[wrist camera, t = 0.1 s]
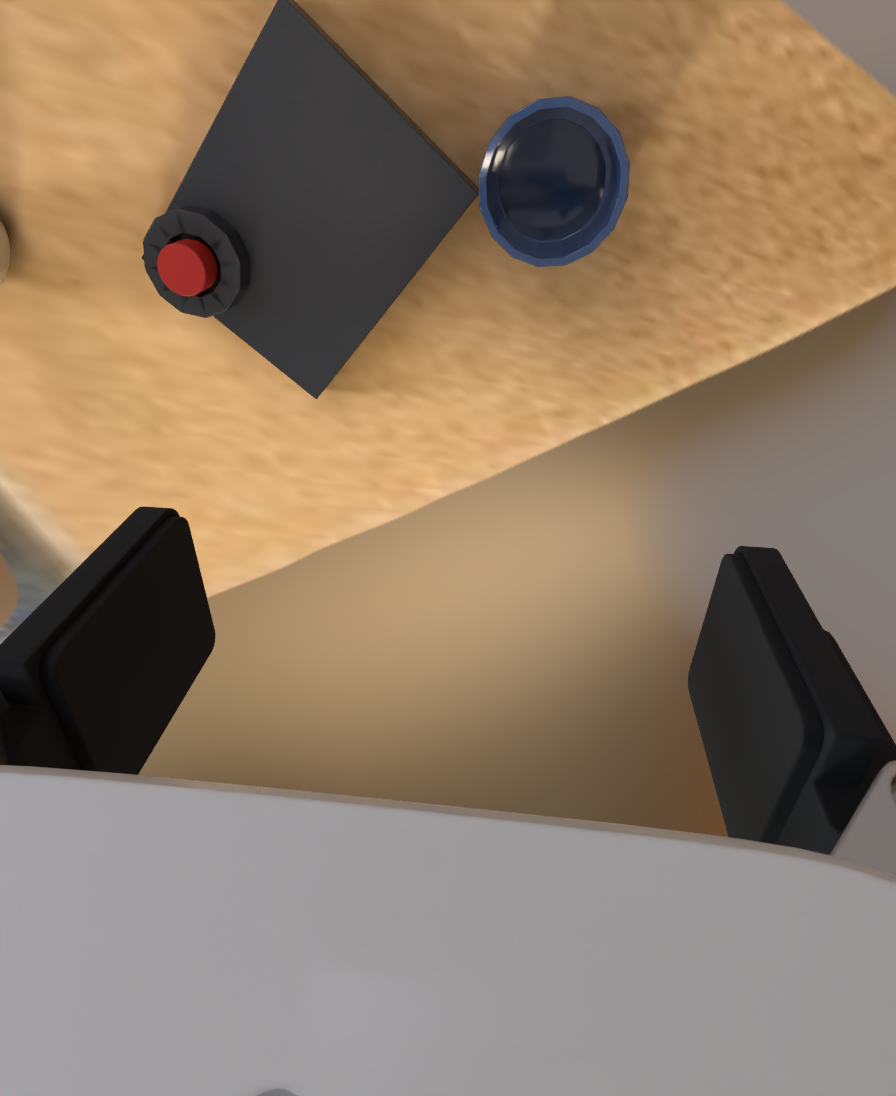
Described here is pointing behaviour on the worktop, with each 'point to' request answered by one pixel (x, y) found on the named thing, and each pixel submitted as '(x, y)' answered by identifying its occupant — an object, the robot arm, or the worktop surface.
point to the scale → (308, 203)
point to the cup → (553, 181)
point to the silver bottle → (4, 252)
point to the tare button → (187, 267)
